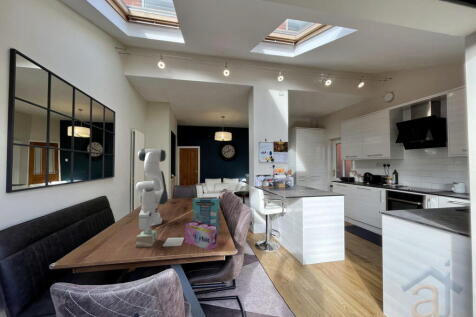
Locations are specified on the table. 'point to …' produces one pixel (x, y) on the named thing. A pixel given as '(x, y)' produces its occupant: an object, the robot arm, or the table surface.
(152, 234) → the lid
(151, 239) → the box
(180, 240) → the mat
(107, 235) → the table surface
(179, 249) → the table surface
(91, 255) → the table surface
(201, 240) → the gum box
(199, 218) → the game box
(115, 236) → the table surface
